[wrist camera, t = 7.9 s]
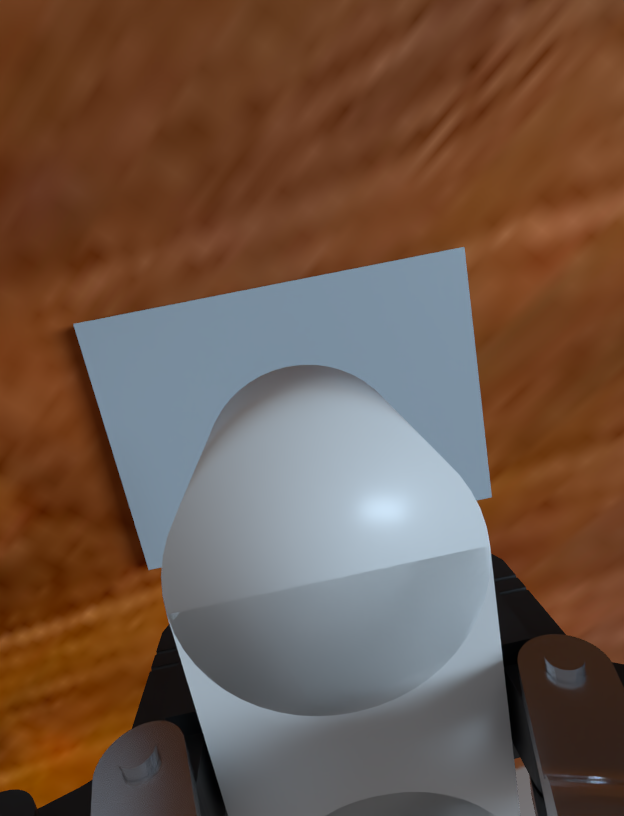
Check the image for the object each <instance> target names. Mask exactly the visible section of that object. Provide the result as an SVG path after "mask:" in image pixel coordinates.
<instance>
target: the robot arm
mask: <svg viewBox="0 0 624 816" xmlns="http://www.w3.org/2000/svg"><path fill="white" fill-rule="evenodd" d="M491 559H492V568H493V577H494V585H495V594H496V603H497V612H498V621H499V630H500V639H501V648H502V657H503V666H504V674H505V683H506V692H507V701H508V710H509V719H510V728H511V737H512V746H513V755H514V759H515V758H519V757H521V759H522V761H523V763H524V765H525V767H526V769H527V771H528V773H529V775H530V785H531V795H532V800H533V805H534V810H535V815H536V816H624V664H618V663H613V662H611V660H610V659H609V658H608V657H607V655H606V654H605V653H604V652H602V651H601V650H600V649H599V648H597V647H596V646H594V645H593V644H591V643H589V642H587V641H585V640H582V639H579V638H576V637H573V636H568V635H566V634H565V633H564V632H563V631H562V630H561V628H560V627H559V626H558V625H557V624H556V623H555V621H554V620H553V619H552V618H551V617H550V615H549V614H548V613H547V612H546V611H545V609H544V608H543V607H542V606H541V605H540V604H539V602H538V601H537V600H536V599H535V598H534V596H533V595H532V594H531V593H530V592H529V590H526V587H525V586H524V584H523V583H522V582H521V581H520V580H519V579H518V578H516V576H515V574H514V573H513V571H512V570H511V569H510V568H509V567H508V565H507V564H506V563H505V562H504V561H503V560H502V559H500V558H498V557H496V556H494V555H493V554H491ZM156 652H157V655H155V658H154V661H153V664H152V667H151V668H152V671H151V672H150V673H149V676H148V680H147V683H146V686H145V689H144V692H143V695H142V698H141V702H140V705H139V708H138V711H137V714H136V717H135V721H134V724H133V727H132V729H131V730H129V731H128V732H126V733H125V734H123V735H122V736H121V737H119V738H118V739H117V740H116V741H115V742H114V743H113V744H112V745H111V746H110V747H109V748H108V749H107V750H106V752H105V753H104V754H103V756H102V757H101V759H100V760H99V762H98V764H97V766H96V769H95V772H94V775H93V780H91V781H90V782H88V783H87V784H85V785H83V786H81V787H80V788H78V789H76V790H74V791H72V792H70V793H68V794H66V795H64V796H62V797H60V798H58V799H56V800H54V801H52V802H50V803H48V804H47V805H45V806H43V807H41V808H39V809H37V807H36V805H35V803H34V800H33V798H32V797H31V795H30V794H29V793H27V792H25V791H22V790H8V791H3V792H0V816H228V814H227V811H226V807H225V804H224V801H223V797H222V794H221V791H220V788H219V784H218V781H217V778H216V774H215V771H214V768H213V765H212V761H211V758H210V755H209V751H208V748H207V745H206V742H205V738H204V735H203V732H202V728H201V725H200V722H199V719H198V715H197V712H196V709H195V705H194V702H193V699H192V696H191V692H190V689H189V686H188V682H187V679H186V676H185V673H184V669H183V666H182V663H181V659H180V656H179V653H178V650H177V646H176V643H175V640H174V636H173V633H172V630H171V627H170V624H169V625H168V626H167V628H166V629H165V630H164V631H163V633H162V636H161V639H160V642H159V645H158V648H157V651H156Z"/></svg>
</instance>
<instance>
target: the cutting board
mask: <svg viewBox="0 0 624 816" xmlns="http://www.w3.org/2000/svg"><path fill="white" fill-rule="evenodd" d="M73 325H74V328H75V332H76V335H77V338H78V341H79V345H80V348H81V351H82V354H83V358H84V361H85V364H86V367H87V371H88V374H89V377H90V380H91V384H92V387H93V390H94V393H95V397H96V400H97V403H98V406H99V410H100V413H101V416H102V419H103V423H104V426H105V429H106V432H107V436H108V439H109V442H110V445H111V449H112V452H113V455H114V458H115V462H116V465H117V468H118V471H119V475H120V478H121V481H122V484H123V488H124V491H125V494H126V497H127V501H128V504H129V507H130V510H131V514H132V517H133V520H134V523H135V527H136V530H137V533H138V536H139V540H140V543H141V546H142V549H143V553H144V556H145V559H146V562H147V566H148V569H149V570H151V569H156V568H160V567H162V560H163V553H164V549H165V544H166V540H167V536H168V533H169V531H170V528H171V526H172V523H173V521H174V518H175V516H176V513H177V511H178V508H179V506H180V504H181V501H182V499H183V497H184V494H185V492H186V490H187V487H188V485H189V482H190V480H191V478H192V475H193V473H194V471H195V468H196V466H197V464H198V461H199V459H200V456H201V454H202V452H203V449H204V447H205V445H206V442H207V440H208V438H209V435H210V433H211V430H212V428H213V426H214V423H215V421H216V419H217V418H218V416H219V414H220V412H221V411H222V409H223V408H224V407H225V405H226V404H227V403H228V401H229V400H230V399H231V398H232V397H233V396H234V395H235V394H236V393H237V392H238V391H239V390H240V389H242V388H243V387H244V386H246V385H247V384H248V383H249V382H251V381H253V380H255V379H256V378H258V377H260V376H262V375H264V374H266V373H269V372H271V371H274V370H277V369H281V368H284V367H289V366H296V365H320V366H328V367H332V368H335V369H339V370H342V371H345V372H347V373H350V374H352V375H354V376H356V377H358V378H359V379H361V380H363V381H365V382H366V383H367V384H368V385H370V386H371V387H372V388H374V389H375V390H376V391H377V392H378V393H379V394H380V395H381V396H382V397H383V398H384V399H385V400H386V401H387V402H388V403H389V404H390V405H391V406H392V407H393V408H394V409H395V410H396V411H397V412H398V413H399V414H400V415H401V416H402V417H403V418H404V419H405V420H406V421H407V422H408V423H409V424H410V425H411V426H412V427H413V428H414V429H415V430H416V431H417V432H418V433H419V434H420V435H421V436H422V437H423V438H424V439H425V440H426V441H427V442H428V443H429V444H430V445H431V446H432V447H433V448H434V449H435V450H436V451H437V452H438V453H439V454H440V455H441V456H442V457H443V458H444V459H445V461H446V462H447V463H448V464H449V465H450V466H451V467H452V468H453V469H454V470H455V471H456V472H457V473H458V474H459V475H460V476H461V478H462V479H463V480H464V482H465V483H466V485H467V486H468V487H469V489H470V490H471V492H472V494H473V495H474V497H475V499H476V500H480V499H485V498H490V497H492V495H491V486H490V477H489V468H488V459H487V450H486V441H485V431H484V422H483V413H482V404H481V395H480V386H479V377H478V368H477V358H476V349H475V340H474V331H473V322H472V313H471V304H470V295H469V285H468V276H467V267H466V258H465V249H464V247H462V248H457V249H452V250H446V251H441V252H436V253H431V254H426V255H421V256H416V257H411V258H406V259H401V260H396V261H391V262H386V263H381V264H375V265H370V266H365V267H360V268H355V269H350V270H345V271H340V272H335V273H330V274H325V275H320V276H315V277H310V278H305V279H299V280H294V281H289V282H284V283H279V284H274V285H269V286H264V287H259V288H254V289H249V290H244V291H239V292H234V293H228V294H223V295H218V296H213V297H208V298H203V299H198V300H193V301H188V302H183V303H178V304H173V305H168V306H163V307H158V308H152V309H147V310H142V311H137V312H132V313H127V314H122V315H117V316H112V317H107V318H102V319H97V320H92V321H87V322H81V323H76V324H73Z"/></svg>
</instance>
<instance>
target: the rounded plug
mask: <svg viewBox="0 0 624 816" xmlns="http://www.w3.org/2000/svg"><path fill="white" fill-rule="evenodd" d="M161 580H162V594H163V600H164V604H165V608H166V613H167V617H168V620H169V623H170V627H171V630H172V633H173V636H174V640H175V643H176V646H177V650H178V653H179V656H180V659H181V663H182V666H183V669H184V673H185V676H186V679H187V682H188V686H189V689H190V692H191V696H192V699H193V702H194V705H195V709H196V712H197V715H198V719H199V722H200V725H201V728H202V732H203V735H204V738H205V742H206V745H207V748H208V751H209V755H210V758H211V761H212V765H213V768H214V771H215V774H216V778H217V781H218V784H219V788H220V791H221V794H222V797H223V801H224V804H225V807H226V811H227V814H228V816H520V808H519V799H518V790H517V781H516V772H515V763H514V755H513V746H512V737H511V728H510V719H509V710H508V701H507V692H506V683H505V674H504V666H503V657H502V648H501V639H500V630H499V621H498V612H497V603H496V594H495V585H494V577H493V568H492V559H491V550H490V543H489V537H488V532H487V527H486V524H485V521H484V518H483V515H482V512H481V509H480V507H479V505H478V503H477V501H476V499H475V497H474V495H473V494H472V492H471V490H470V489H469V487H468V486H467V485H466V483H465V482H464V480H463V479H462V478H461V476H460V475H459V474H458V473H457V472H456V471H455V470H454V469H453V468H452V467H451V466H450V465H449V464H448V463H447V462H446V461H445V459H444V458H443V457H442V456H441V455H440V454H439V453H438V452H437V451H436V450H435V449H434V448H433V447H432V446H431V445H430V444H429V443H428V442H427V441H426V440H425V439H424V438H423V437H422V436H421V435H420V434H419V433H418V432H417V431H416V430H415V429H414V428H413V427H412V426H411V425H410V424H409V423H408V422H407V421H406V420H405V419H404V418H403V417H402V416H401V415H400V414H399V413H398V412H397V411H396V410H395V409H394V408H393V407H392V406H391V405H390V404H389V403H388V402H387V401H386V400H385V399H384V398H383V397H382V396H381V395H380V394H379V393H378V392H377V391H376V390H375V389H374V388H372V387H371V386H370V385H368V384H367V383H366V382H365V381H363V380H361V379H359V378H358V377H356V376H354V375H352V374H350V373H347V372H345V371H342V370H339V369H335V368H332V367H328V366H320V365H296V366H289V367H284V368H281V369H277V370H274V371H271V372H269V373H266V374H264V375H262V376H260V377H258V378H256V379H255V380H253V381H251V382H249V383H248V384H247V385H246V386H244V387H243V388H242V389H240V390H239V391H238V392H237V393H236V394H235V395H234V396H233V397H232V398H231V399H230V400H229V401H228V403H227V404H226V405H225V407H224V408H223V409H222V411H221V412H220V414H219V416H218V418H217V419H216V421H215V423H214V426H213V428H212V430H211V433H210V435H209V438H208V440H207V442H206V445H205V447H204V449H203V452H202V454H201V456H200V459H199V461H198V464H197V466H196V468H195V471H194V473H193V475H192V478H191V480H190V482H189V485H188V487H187V490H186V492H185V494H184V497H183V499H182V501H181V504H180V506H179V508H178V511H177V513H176V516H175V518H174V521H173V523H172V526H171V528H170V531H169V533H168V536H167V540H166V544H165V549H164V553H163V560H162V573H161Z"/></svg>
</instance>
